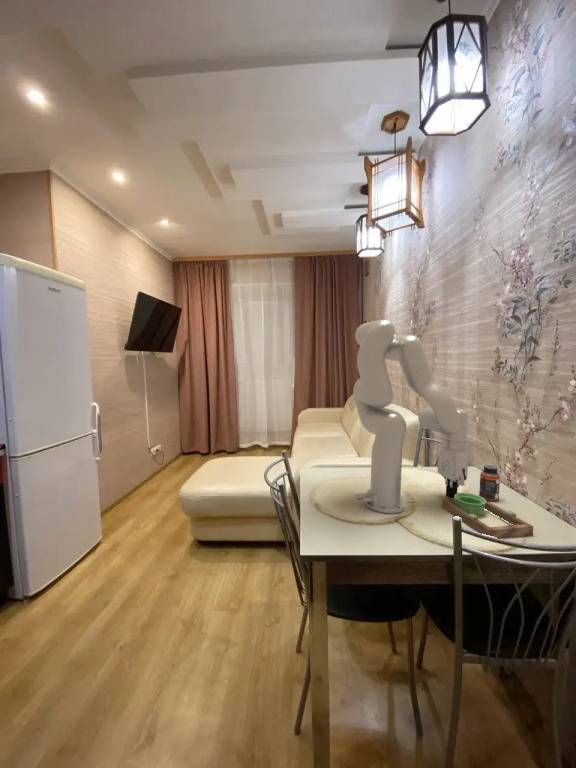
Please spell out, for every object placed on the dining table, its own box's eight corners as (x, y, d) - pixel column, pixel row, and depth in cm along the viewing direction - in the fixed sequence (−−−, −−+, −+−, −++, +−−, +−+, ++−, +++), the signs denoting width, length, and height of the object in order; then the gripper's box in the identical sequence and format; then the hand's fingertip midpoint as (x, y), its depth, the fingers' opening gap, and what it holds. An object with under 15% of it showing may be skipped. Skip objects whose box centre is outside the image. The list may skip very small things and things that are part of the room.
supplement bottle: (502, 502, 120) (504, 469, 119) (484, 501, 120) (486, 469, 119) (492, 495, 126) (494, 464, 125) (475, 495, 126) (477, 463, 125)
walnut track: (488, 539, 95) (488, 527, 95) (441, 507, 115) (441, 497, 115) (533, 535, 98) (534, 523, 98) (479, 504, 118) (480, 494, 118)
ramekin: (448, 509, 113) (448, 496, 113) (462, 503, 119) (463, 490, 118) (476, 520, 106) (477, 506, 106) (490, 513, 112) (491, 499, 111)
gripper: (431, 440, 126) (428, 490, 128) (459, 451, 112) (456, 507, 113) (449, 439, 128) (447, 488, 129) (479, 450, 113) (476, 505, 115)
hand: (451, 497), depth 121 cm, fingers closed
